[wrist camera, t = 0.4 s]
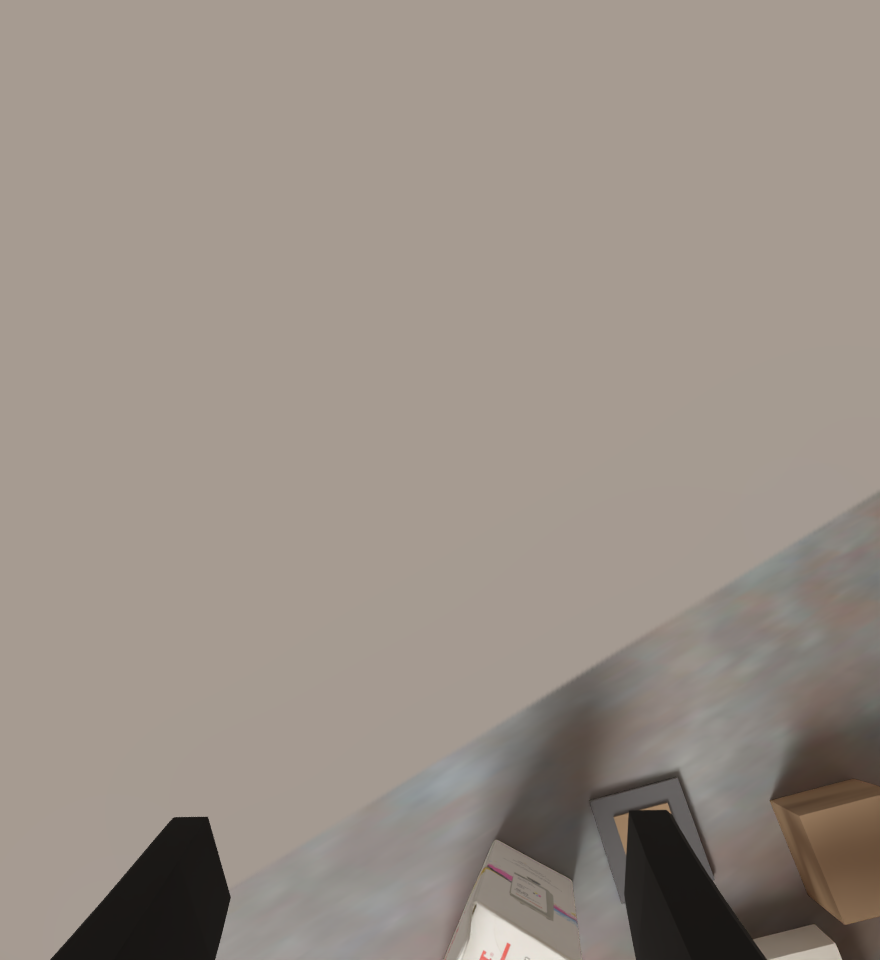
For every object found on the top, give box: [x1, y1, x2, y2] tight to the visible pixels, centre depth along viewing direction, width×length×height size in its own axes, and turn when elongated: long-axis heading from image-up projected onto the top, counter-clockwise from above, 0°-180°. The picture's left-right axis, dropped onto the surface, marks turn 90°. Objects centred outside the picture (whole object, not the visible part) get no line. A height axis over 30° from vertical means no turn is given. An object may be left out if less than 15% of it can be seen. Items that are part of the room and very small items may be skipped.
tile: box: [589, 777, 715, 904], centre depth 34 cm, size 5×5×1 cm
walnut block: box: [770, 779, 880, 925], centre depth 31 cm, size 4×4×4 cm
